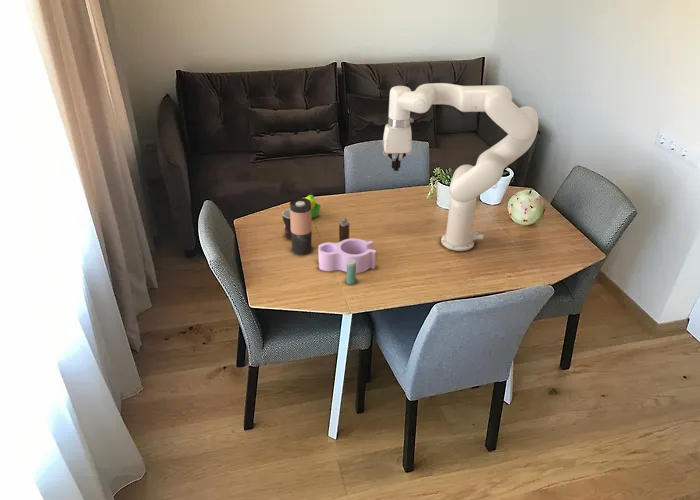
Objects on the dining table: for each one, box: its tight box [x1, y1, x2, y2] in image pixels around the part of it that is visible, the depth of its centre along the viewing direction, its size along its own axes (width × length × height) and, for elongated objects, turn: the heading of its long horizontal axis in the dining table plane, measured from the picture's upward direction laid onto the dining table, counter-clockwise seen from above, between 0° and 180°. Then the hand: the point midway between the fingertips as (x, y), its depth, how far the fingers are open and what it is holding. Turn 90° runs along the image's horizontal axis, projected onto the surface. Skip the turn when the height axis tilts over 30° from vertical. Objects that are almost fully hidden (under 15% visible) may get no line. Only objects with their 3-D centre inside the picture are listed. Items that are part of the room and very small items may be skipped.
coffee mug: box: [281, 208, 292, 241], centre depth 228 cm, size 12×9×10 cm
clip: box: [317, 237, 377, 274], centre depth 211 cm, size 20×12×7 cm, turn 97°
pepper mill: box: [338, 217, 350, 242], centre depth 220 cm, size 4×4×13 cm
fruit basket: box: [288, 194, 322, 220], centre depth 239 cm, size 11×9×11 cm
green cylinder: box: [345, 260, 357, 285], centre depth 201 cm, size 3×3×8 cm
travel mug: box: [289, 197, 313, 256], centre depth 216 cm, size 8×8×20 cm
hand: (395, 169), depth 219 cm, fingers closed
